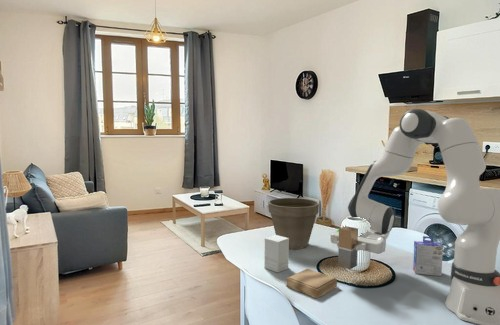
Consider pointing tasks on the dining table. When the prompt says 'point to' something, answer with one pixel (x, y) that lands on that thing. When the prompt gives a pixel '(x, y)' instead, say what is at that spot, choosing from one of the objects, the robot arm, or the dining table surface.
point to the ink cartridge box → (428, 257)
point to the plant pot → (294, 219)
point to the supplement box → (276, 253)
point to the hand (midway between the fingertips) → (346, 246)
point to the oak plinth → (311, 283)
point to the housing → (347, 247)
